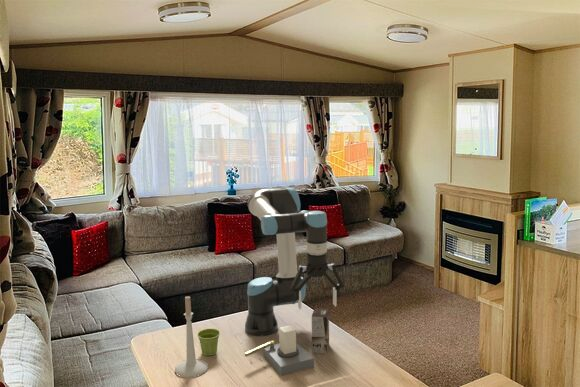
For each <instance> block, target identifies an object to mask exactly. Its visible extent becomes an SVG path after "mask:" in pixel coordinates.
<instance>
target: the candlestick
mask: <svg viewBox="0 0 580 387" xmlns="http://www.w3.org/2000/svg"><path fill="white" fill-rule="evenodd" d="M184 301H185V302H184V304H185V305H184V306H185V313H183V316H185V319H186V360H183V361H182V362H180V363H178V364H177V365H176V367H174V373H175V372H176V374H178V375H180V376H183V377H193V378H195V377H194V376H197V377H199V376H198V375H200V376H202V375H204V374H206V372H208V370H209V364H208V363H207V362H206V361H205V360H202V359H199V358H198V359H197V358H196V352H195V350H196V349H195V341H194V340H195V339H194V332H193V331H194V330H193V321H192V319H193V315H194V312H192V306H191V305H192V304H191V303H192V302H191V296H188V295H187V296H185V297H184ZM203 373H204V374H203ZM176 374H175V375H176ZM201 374H202V375H201ZM183 377H182V378H183Z"/></svg>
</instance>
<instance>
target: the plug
mask: <svg viewBox="0 0 580 387" xmlns="http://www.w3.org/2000/svg"><path fill="white" fill-rule="evenodd" d="M278 341H279V348H278V349H277V354H278V355H279V356H281V357H285V358H290V357H294V356H296V355H297V354H298V348H297V347H296V342H297V330H296V329H295V327H293V325H291V324H289V325H284V326H281V327H278Z"/></svg>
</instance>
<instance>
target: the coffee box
mask: <svg viewBox="0 0 580 387" xmlns="http://www.w3.org/2000/svg"><path fill="white" fill-rule="evenodd" d="M329 312H330V309H329V308H314V309H313V312H312V314H311V352H312V353H318V354H327V353H328V350H329V346H330V313H329Z"/></svg>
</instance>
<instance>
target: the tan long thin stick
mask: <svg viewBox="0 0 580 387" xmlns="http://www.w3.org/2000/svg"><path fill="white" fill-rule="evenodd" d="M275 344H276V340H274V339H270V340H269V341H268V342H266V343H263V344H261V345H259V346H257V347H255V348H253V349H251V350H248V351H246V352H244V357H248V356H251V355H253V354H256V353H258V352H260V351H263V349H264V348H266V347H269V346H273V345H275Z"/></svg>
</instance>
